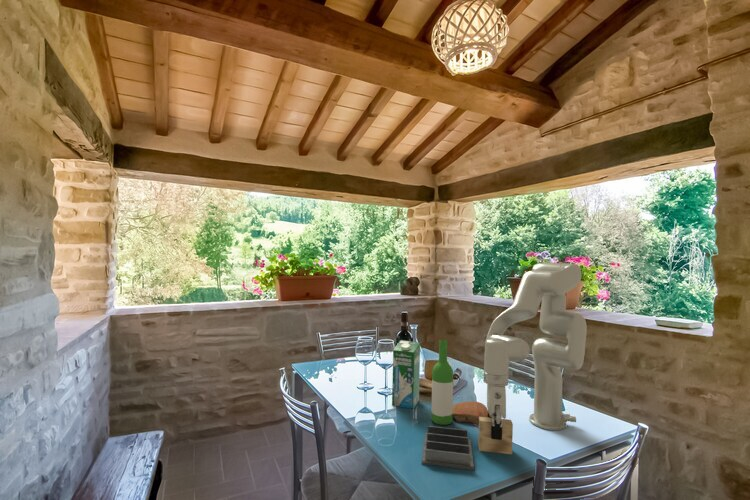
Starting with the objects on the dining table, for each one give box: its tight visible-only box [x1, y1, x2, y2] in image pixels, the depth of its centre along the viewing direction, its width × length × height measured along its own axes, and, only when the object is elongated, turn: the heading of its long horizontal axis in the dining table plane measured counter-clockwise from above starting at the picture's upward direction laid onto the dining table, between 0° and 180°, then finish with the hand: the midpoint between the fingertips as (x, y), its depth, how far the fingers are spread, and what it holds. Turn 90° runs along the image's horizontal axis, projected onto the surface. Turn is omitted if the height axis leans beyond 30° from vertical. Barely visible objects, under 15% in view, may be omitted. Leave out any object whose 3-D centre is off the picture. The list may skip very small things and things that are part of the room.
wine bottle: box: [430, 339, 454, 426], centre depth 141 cm, size 8×8×30 cm
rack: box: [421, 425, 475, 471], centre depth 119 cm, size 15×17×4 cm
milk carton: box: [391, 339, 421, 410], centre depth 157 cm, size 9×9×25 cm
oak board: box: [477, 417, 514, 455], centre depth 121 cm, size 10×3×10 cm, turn 79°
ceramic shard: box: [452, 401, 489, 425], centre depth 146 cm, size 15×6×15 cm
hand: (494, 432), depth 120 cm, fingers open, 9 cm apart
